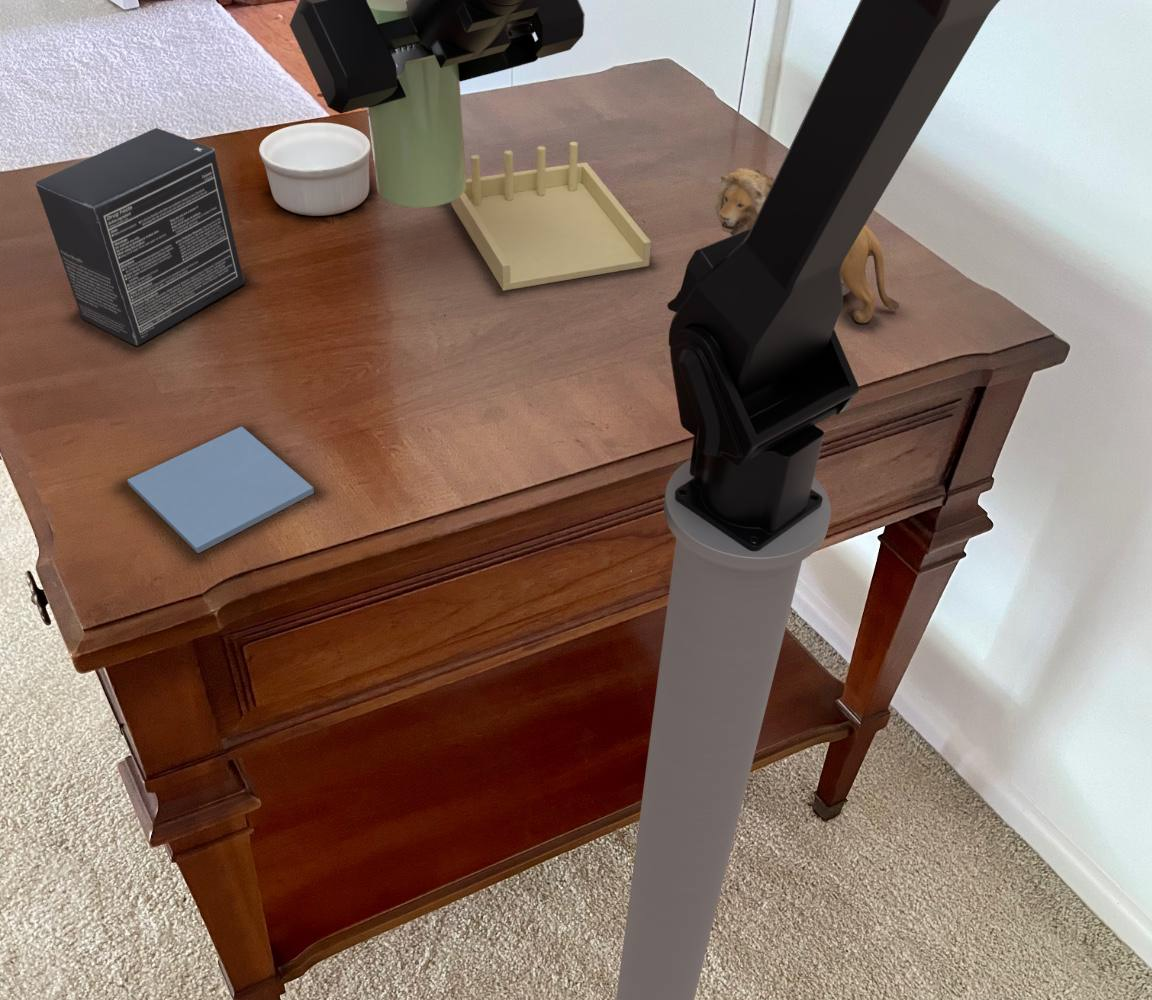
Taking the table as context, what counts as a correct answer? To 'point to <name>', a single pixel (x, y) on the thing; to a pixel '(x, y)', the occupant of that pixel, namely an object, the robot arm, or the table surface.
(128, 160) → the small box
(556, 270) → the dish rack
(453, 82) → the pale green cylinder
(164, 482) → the mat
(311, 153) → the ramekin
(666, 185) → the table surface
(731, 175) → the lion figurine
